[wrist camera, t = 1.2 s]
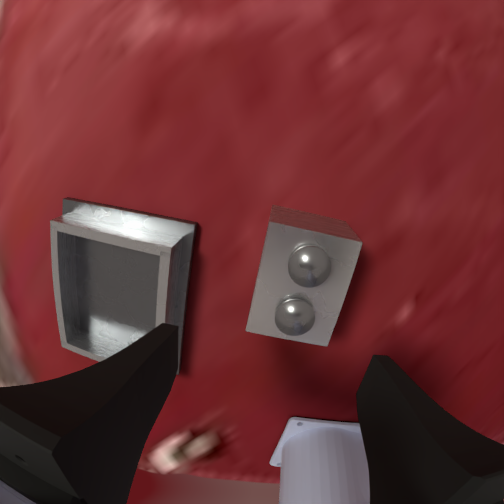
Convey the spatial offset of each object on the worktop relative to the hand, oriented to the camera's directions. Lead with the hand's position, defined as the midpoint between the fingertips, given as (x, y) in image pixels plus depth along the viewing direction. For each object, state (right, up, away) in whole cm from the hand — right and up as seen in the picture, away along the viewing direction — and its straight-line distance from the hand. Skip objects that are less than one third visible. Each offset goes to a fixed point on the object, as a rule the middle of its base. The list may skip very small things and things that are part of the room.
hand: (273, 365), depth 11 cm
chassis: (-10, +1, +11) cm, 15 cm away
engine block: (+2, +4, +9) cm, 10 cm away
